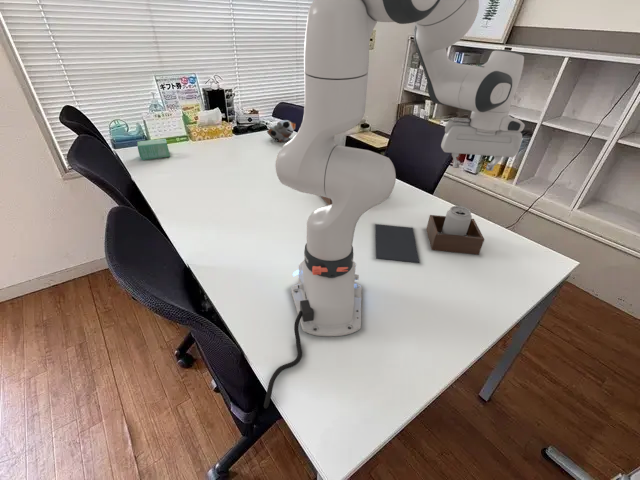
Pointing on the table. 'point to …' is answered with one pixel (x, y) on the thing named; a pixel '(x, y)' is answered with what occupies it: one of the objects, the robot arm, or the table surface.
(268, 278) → the table surface
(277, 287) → the table surface
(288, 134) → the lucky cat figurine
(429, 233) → the crate
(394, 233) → the mat
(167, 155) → the box
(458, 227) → the can
